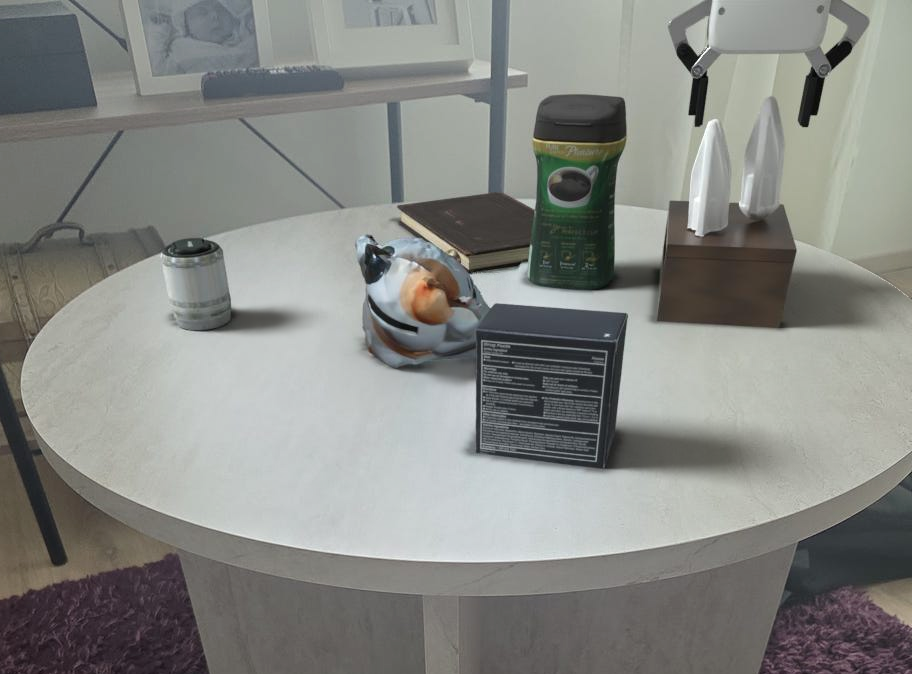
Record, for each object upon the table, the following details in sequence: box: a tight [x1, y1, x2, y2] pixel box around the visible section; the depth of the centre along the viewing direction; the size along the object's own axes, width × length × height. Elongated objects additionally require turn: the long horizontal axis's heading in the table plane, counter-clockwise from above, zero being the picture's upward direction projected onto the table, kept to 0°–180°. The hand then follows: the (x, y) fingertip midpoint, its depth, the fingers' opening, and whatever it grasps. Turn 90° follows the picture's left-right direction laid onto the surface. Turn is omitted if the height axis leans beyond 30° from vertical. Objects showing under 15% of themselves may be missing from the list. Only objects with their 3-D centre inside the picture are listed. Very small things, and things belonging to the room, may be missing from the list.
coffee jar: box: [526, 93, 628, 291], centre depth 98 cm, size 10×8×19 cm
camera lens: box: [159, 237, 232, 331], centre depth 94 cm, size 6×6×8 cm
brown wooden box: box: [656, 200, 798, 329], centre depth 96 cm, size 12×16×8 cm
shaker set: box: [687, 95, 786, 237], centre depth 89 cm, size 12×4×11 cm, turn 118°
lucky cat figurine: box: [354, 233, 491, 369], centre depth 84 cm, size 15×12×14 cm
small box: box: [474, 302, 629, 470], centre depth 70 cm, size 11×6×10 cm, turn 73°
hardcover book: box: [396, 191, 535, 274], centre depth 117 cm, size 16×23×2 cm
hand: (749, 124), depth 87 cm, fingers open, 9 cm apart
